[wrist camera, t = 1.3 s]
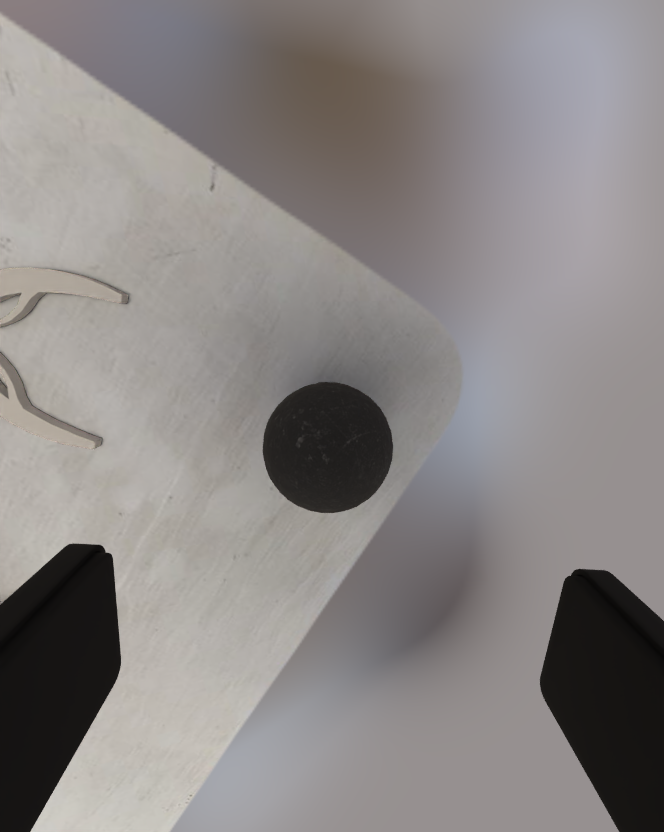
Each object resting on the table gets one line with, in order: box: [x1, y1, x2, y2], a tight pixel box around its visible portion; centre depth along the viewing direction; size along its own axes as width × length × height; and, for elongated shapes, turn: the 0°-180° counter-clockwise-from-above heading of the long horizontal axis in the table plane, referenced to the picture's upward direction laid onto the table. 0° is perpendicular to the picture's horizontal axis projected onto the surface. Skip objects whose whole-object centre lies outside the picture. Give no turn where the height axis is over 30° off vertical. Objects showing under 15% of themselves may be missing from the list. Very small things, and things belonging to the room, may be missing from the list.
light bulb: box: [263, 382, 393, 513], centre depth 19 cm, size 6×6×10 cm
